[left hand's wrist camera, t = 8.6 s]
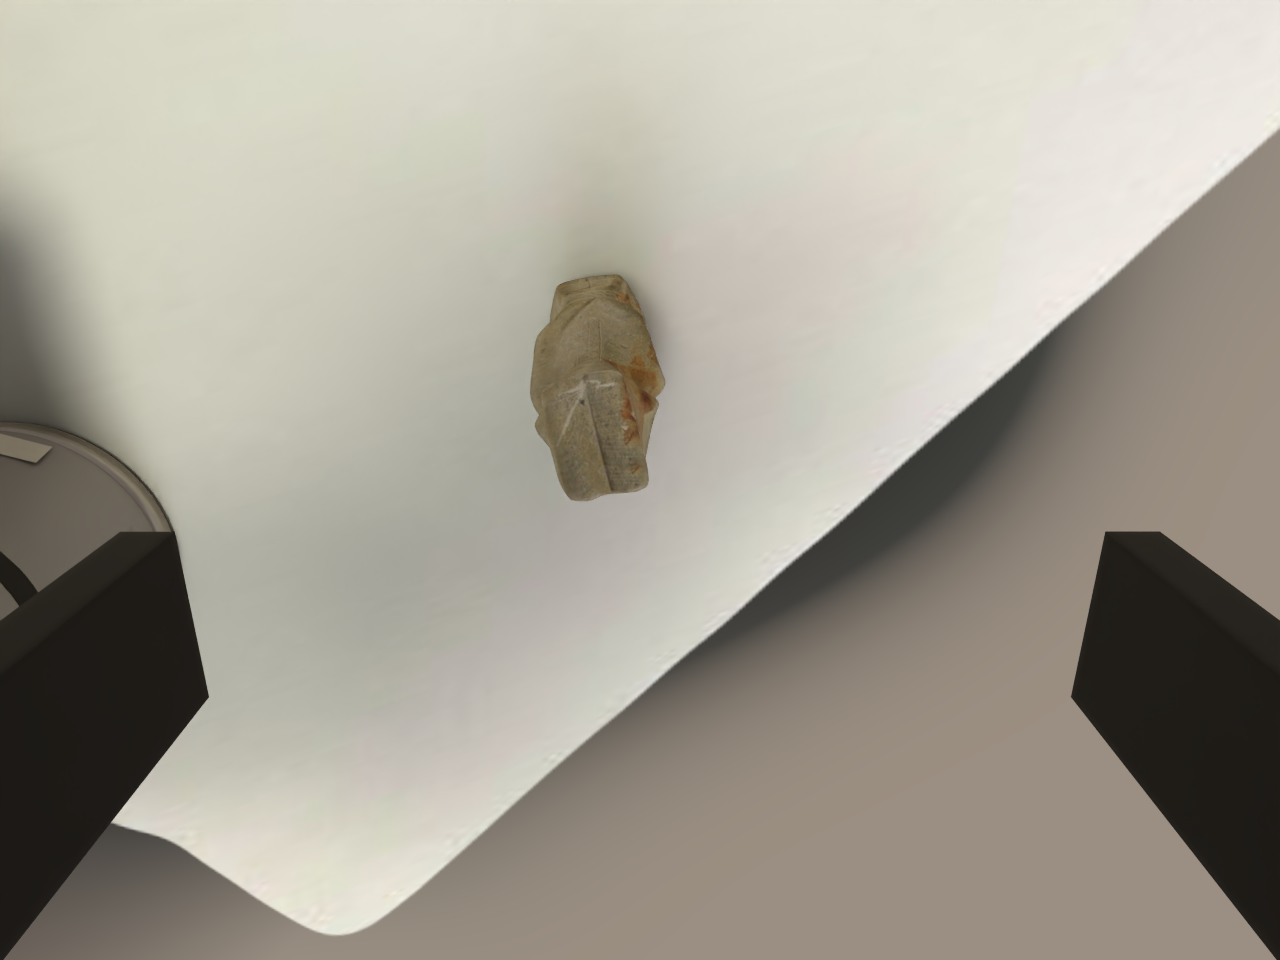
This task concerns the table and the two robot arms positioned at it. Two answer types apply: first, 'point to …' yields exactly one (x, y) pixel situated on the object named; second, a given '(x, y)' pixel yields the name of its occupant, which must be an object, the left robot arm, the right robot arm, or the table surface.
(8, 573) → the left robot arm
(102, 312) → the table surface
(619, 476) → the sculpture
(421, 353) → the table surface
